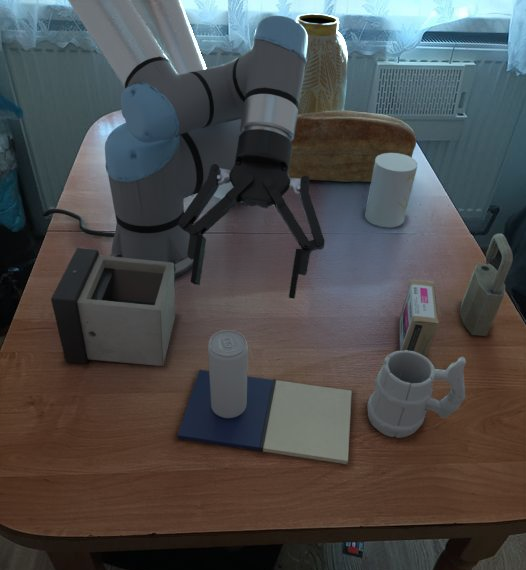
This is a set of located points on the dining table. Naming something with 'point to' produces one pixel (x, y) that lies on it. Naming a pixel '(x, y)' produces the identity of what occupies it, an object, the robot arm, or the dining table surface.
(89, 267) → the grey open box
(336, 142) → the bread
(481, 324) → the padlock
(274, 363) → the dining table surface
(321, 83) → the vase
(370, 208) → the white cylinder
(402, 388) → the mug
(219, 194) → the geodesic sphere
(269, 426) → the board
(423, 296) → the ink box
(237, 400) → the beverage can
